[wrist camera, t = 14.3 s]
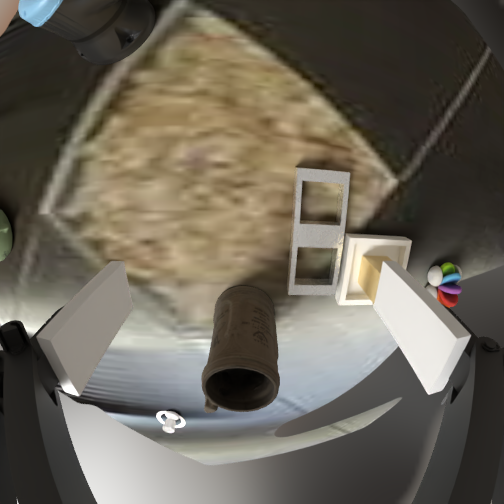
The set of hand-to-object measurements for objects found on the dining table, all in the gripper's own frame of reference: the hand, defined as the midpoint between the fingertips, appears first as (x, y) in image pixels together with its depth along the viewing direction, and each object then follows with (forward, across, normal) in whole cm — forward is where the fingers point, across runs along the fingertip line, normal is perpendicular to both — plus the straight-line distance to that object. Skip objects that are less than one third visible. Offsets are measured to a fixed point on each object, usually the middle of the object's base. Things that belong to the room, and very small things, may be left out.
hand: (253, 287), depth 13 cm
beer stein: (+30, -2, -23) cm, 38 cm away
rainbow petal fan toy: (+30, +38, -16) cm, 51 cm away
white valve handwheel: (+29, -18, -56) cm, 66 cm away
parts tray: (+29, +21, -12) cm, 38 cm away
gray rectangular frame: (+30, +10, -6) cm, 32 cm away
